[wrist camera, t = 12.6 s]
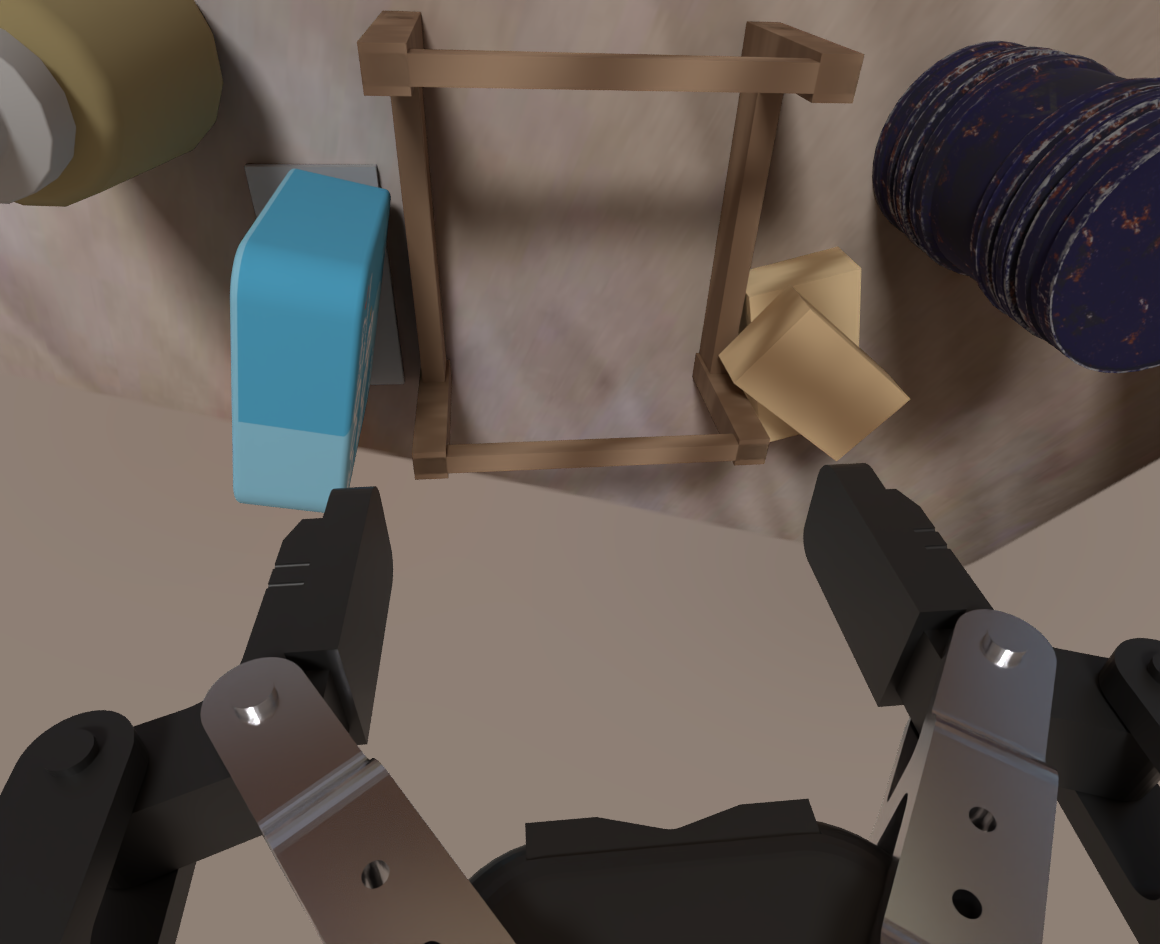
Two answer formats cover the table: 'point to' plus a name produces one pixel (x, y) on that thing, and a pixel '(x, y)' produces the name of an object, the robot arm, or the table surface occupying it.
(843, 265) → the offcut lower
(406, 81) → the frame
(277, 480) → the blue rounded block
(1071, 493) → the table surface
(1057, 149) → the dark navy cylinder
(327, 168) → the mat
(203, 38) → the squeeze bottle
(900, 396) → the offcut upper
